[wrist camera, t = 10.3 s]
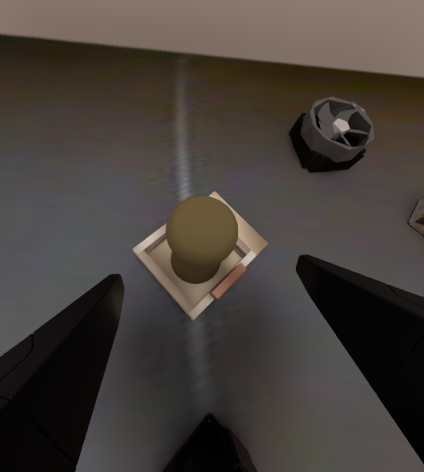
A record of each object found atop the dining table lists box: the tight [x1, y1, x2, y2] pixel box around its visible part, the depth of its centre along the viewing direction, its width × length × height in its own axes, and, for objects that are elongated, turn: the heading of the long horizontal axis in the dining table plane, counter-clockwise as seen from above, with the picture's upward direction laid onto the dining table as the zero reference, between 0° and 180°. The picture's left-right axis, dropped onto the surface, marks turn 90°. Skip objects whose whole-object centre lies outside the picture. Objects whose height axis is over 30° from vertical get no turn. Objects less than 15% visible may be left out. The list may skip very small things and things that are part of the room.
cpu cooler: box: [289, 97, 375, 173], centre depth 30 cm, size 10×6×10 cm
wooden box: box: [133, 192, 268, 321], centre depth 21 cm, size 13×10×6 cm
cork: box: [165, 196, 238, 284], centre depth 17 cm, size 6×6×11 cm
